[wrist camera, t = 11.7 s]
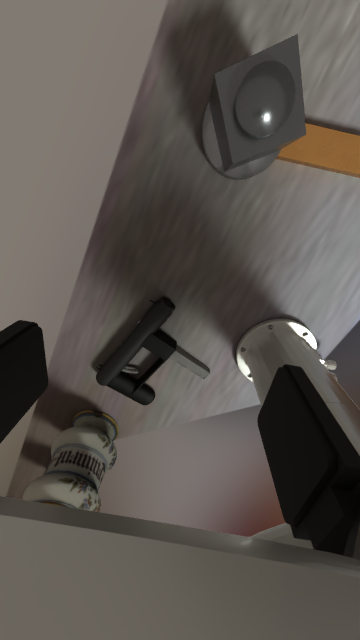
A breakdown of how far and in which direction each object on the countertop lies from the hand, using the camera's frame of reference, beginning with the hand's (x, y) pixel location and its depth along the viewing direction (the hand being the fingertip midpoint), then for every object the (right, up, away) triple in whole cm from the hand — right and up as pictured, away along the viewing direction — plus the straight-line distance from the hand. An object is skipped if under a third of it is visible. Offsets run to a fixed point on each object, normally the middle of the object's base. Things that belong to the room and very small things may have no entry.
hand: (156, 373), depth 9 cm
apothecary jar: (-17, -20, +40) cm, 48 cm away
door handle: (-3, -4, +32) cm, 32 cm away
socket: (+8, +22, +15) cm, 28 cm away
